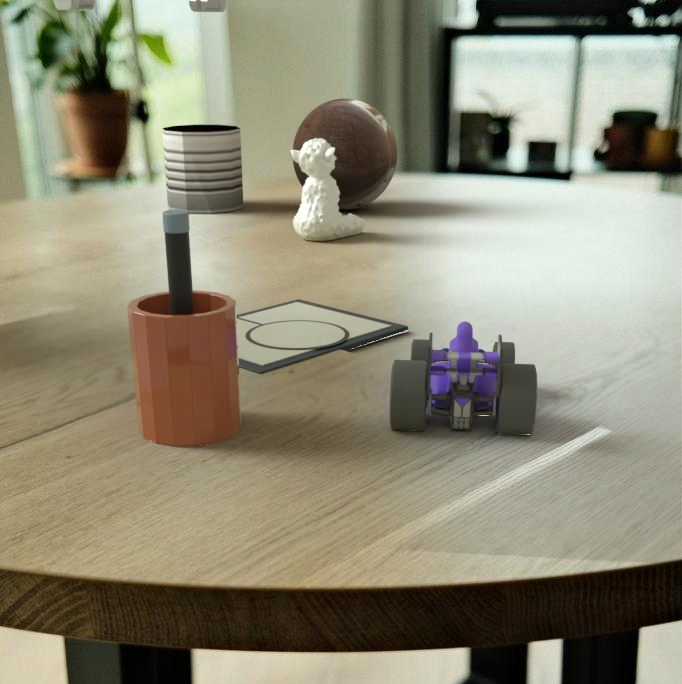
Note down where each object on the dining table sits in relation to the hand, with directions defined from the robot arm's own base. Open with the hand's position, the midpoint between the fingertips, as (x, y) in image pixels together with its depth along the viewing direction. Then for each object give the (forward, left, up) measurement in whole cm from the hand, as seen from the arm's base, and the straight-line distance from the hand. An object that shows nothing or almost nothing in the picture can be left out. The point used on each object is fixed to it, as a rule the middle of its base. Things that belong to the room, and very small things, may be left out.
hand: (145, 11), depth 59 cm
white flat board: (-10, +20, -26) cm, 34 cm away
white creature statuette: (-39, +55, -26) cm, 73 cm away
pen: (+1, 0, -25) cm, 25 cm away
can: (-67, +59, -26) cm, 93 cm away
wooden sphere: (-51, +72, -26) cm, 92 cm away
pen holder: (+2, 0, -26) cm, 26 cm away
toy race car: (+12, +17, -26) cm, 33 cm away
